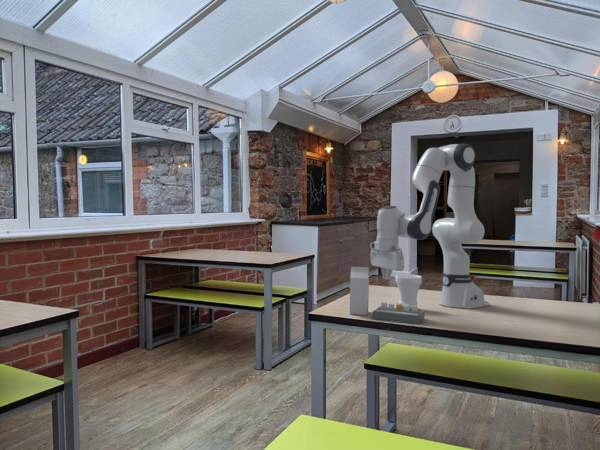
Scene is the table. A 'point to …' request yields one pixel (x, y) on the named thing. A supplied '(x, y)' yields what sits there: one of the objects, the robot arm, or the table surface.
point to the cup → (408, 288)
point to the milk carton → (359, 290)
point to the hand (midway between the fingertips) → (386, 279)
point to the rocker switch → (399, 307)
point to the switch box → (399, 314)
